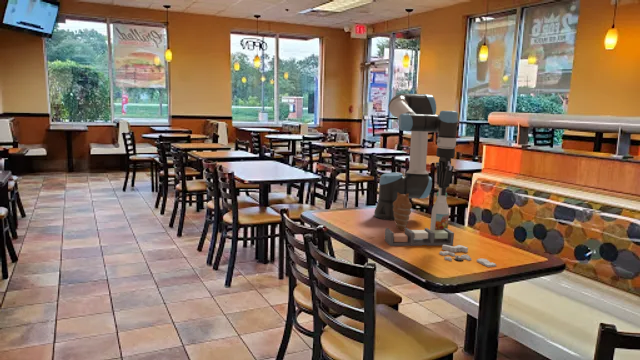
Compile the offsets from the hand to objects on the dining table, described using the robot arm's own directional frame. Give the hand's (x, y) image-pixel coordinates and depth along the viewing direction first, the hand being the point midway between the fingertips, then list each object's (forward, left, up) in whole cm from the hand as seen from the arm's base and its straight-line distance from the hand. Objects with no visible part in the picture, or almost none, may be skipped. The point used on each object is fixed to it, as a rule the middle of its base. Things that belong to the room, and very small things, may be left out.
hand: (441, 202), depth 201 cm
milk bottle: (-12, +5, -18) cm, 22 cm away
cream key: (0, -9, -15) cm, 18 cm away
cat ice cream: (-21, -10, -18) cm, 29 cm away
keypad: (0, -9, -18) cm, 20 cm away
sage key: (0, 0, -15) cm, 15 cm away
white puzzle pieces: (+19, -1, -19) cm, 27 cm away
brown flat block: (0, -18, -17) cm, 24 cm away
